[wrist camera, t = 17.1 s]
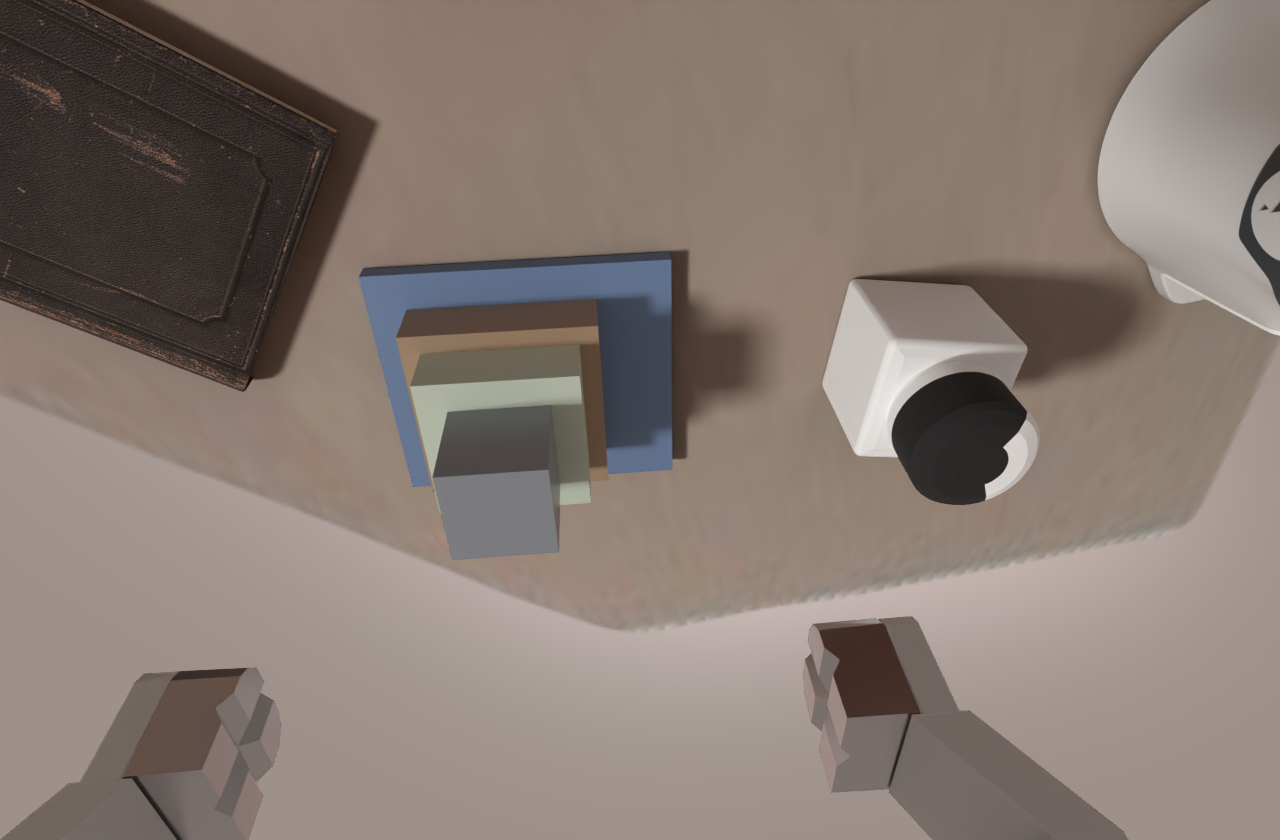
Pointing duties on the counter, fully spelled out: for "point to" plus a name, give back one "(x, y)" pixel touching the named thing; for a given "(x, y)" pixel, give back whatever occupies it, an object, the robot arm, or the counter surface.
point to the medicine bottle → (932, 387)
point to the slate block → (499, 482)
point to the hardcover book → (146, 189)
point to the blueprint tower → (532, 355)
